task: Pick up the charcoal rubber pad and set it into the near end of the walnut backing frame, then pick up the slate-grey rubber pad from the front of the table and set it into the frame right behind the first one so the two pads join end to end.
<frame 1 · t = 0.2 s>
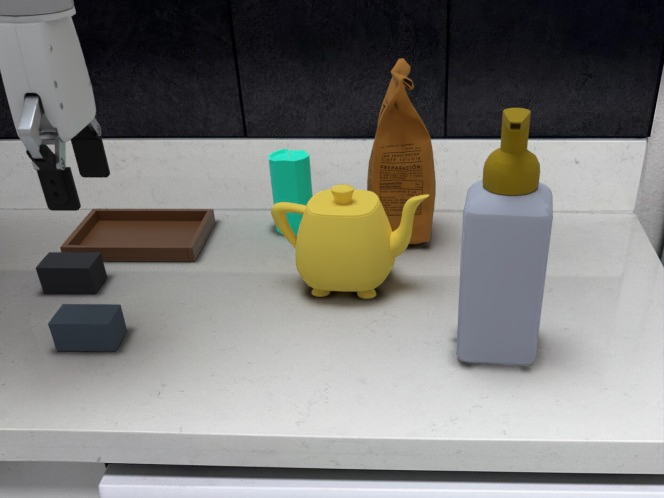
hand: (81, 192, 82), 17 cm above the counter, tool pointing down, fingers open, 9 cm apart
pad a: (76, 285, 105), on the counter
teapot: (353, 284, 105), on the counter
coffee package: (400, 235, 118), on the counter
pad b: (92, 340, 94), on the counter
candle: (295, 229, 119), on the counter
soap bottle: (496, 349, 92), on the counter
frame: (143, 240, 116), on the counter
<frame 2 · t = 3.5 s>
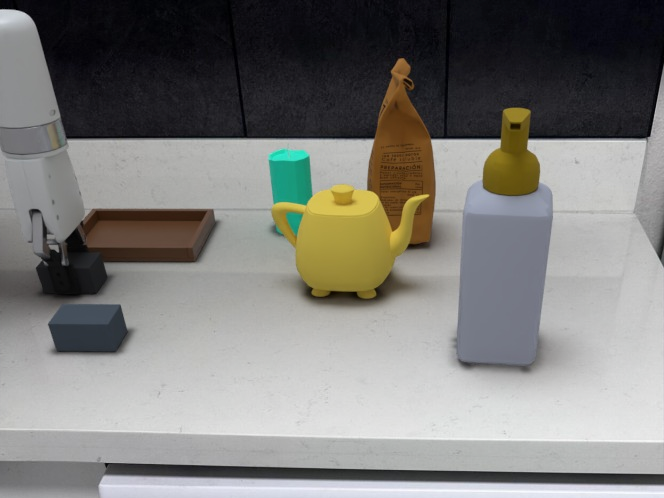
hand: (75, 282, 105), 0 cm above the counter, tool pointing down, fingers closed on pad a, 5 cm apart
pad a: (76, 285, 105), on the counter, touching gripper
everything else where it was.
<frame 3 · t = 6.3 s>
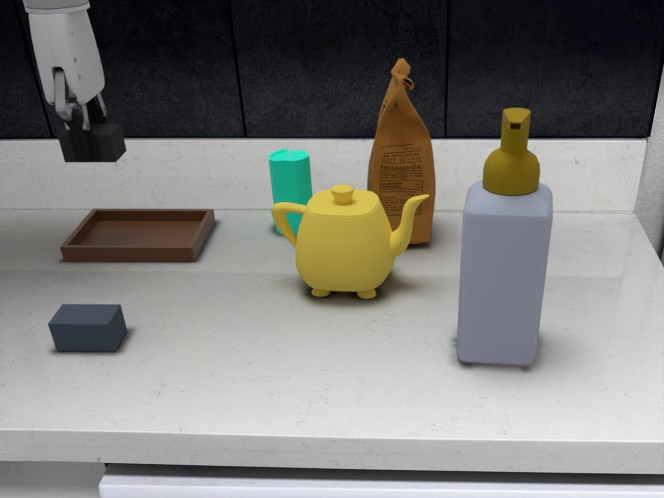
hand: (95, 153, 107), 12 cm above the counter, tool pointing down, fingers closed on pad a, 5 cm apart
pad a: (96, 156, 107), point 12 cm above the counter, touching gripper
everything else where it was.
when the fingers open (1 cm above the counter, at t = 9.1 s): pad a stays where it is, resting on frame.
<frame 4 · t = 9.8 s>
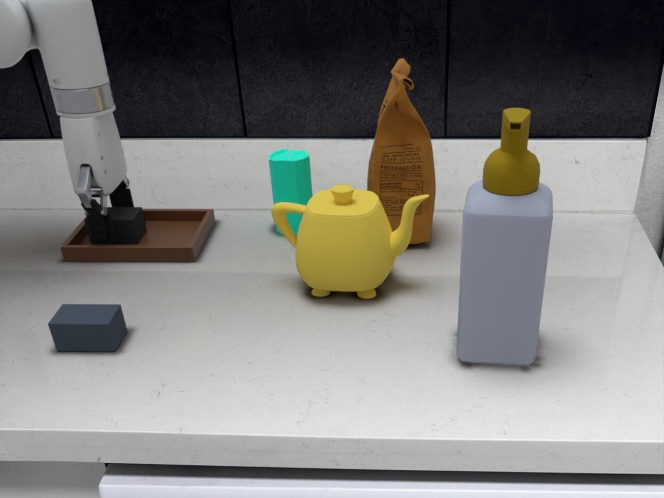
hand: (115, 228, 115), 2 cm above the counter, tool pointing down, fingers open, 9 cm apart
pad a: (119, 237, 116), resting on frame
everything else where it was.
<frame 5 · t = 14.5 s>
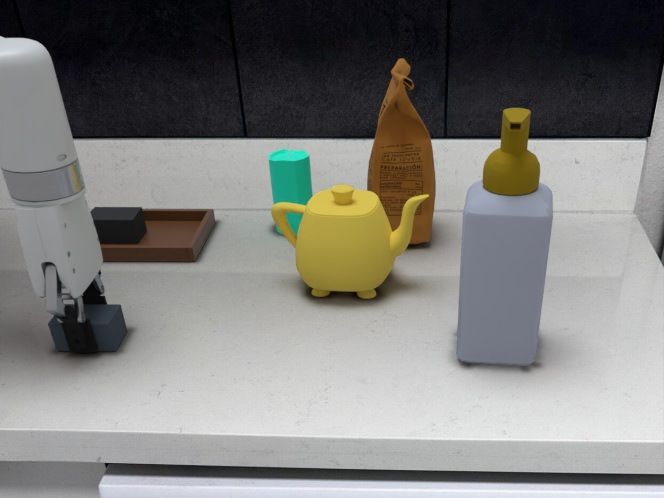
hand: (91, 337, 94), 0 cm above the counter, tool pointing down, fingers closed on pad b, 5 cm apart
pad b: (92, 340, 94), on the counter, touching gripper
everything else where it was.
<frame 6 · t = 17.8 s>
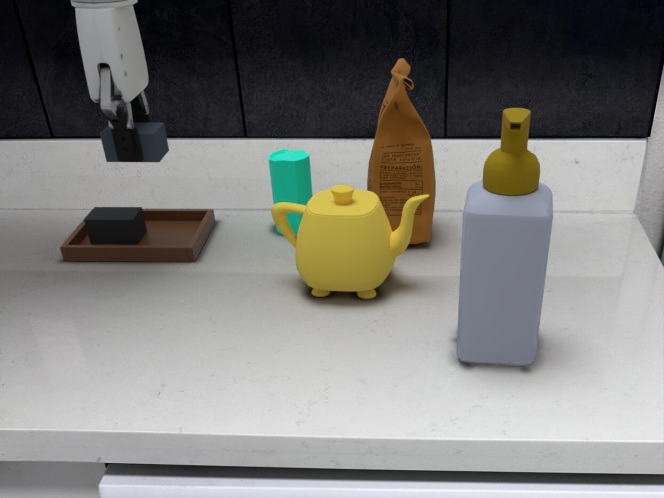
hand: (137, 152, 104), 13 cm above the counter, tool pointing down, fingers closed on pad b, 5 cm apart
pad b: (138, 156, 104), point 13 cm above the counter, touching gripper
everything else where it was.
when the fingers open (1 cm above the counter, at t = 21.3 s): pad b stays where it is, resting on frame.
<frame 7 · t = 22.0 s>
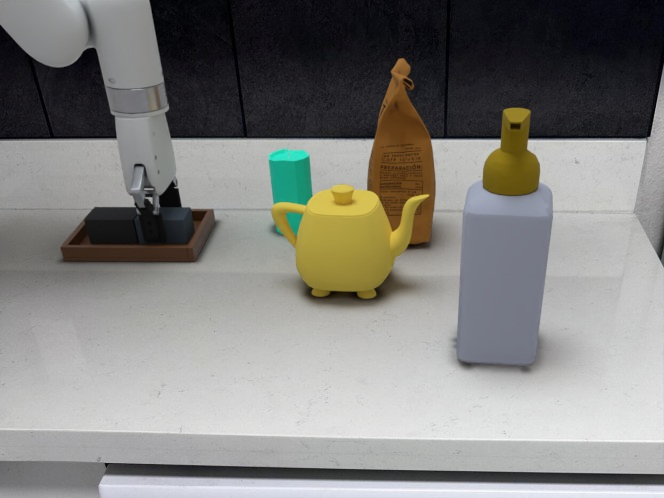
hand: (164, 228, 115), 2 cm above the counter, tool pointing down, fingers open, 9 cm apart
pad b: (167, 237, 116), resting on frame
everything else where it was.
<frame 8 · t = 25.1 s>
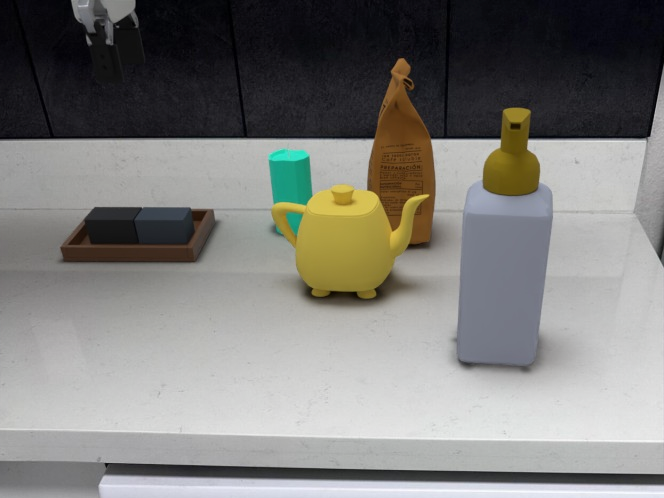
hand: (122, 72, 100), 22 cm above the counter, tool pointing down, fingers open, 9 cm apart
nothing on the counter moved.
at the end: pad a 0.4 cm from the target spot in the frame, point 0.5 cm above the frame's base; pad b 0.0 cm from the target spot in the frame, point 0.5 cm above the frame's base; pad b 7.2 cm from the pad a (horizontally) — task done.
